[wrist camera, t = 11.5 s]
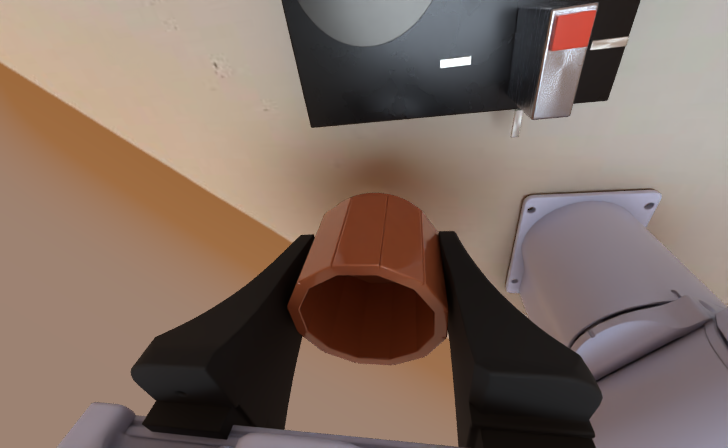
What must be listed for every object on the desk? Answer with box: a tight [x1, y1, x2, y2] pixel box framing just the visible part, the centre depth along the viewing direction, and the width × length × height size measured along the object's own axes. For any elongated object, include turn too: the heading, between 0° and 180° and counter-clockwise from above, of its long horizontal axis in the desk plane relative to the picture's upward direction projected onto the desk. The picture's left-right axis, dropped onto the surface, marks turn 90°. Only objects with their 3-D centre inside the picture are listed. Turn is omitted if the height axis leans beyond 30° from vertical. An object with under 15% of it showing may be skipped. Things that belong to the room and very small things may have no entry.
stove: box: [282, 0, 640, 138], centre depth 14 cm, size 12×15×3 cm
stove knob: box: [507, 2, 598, 120], centre depth 12 cm, size 4×1×4 cm, turn 8°
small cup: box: [287, 193, 449, 365], centre depth 12 cm, size 6×6×4 cm
